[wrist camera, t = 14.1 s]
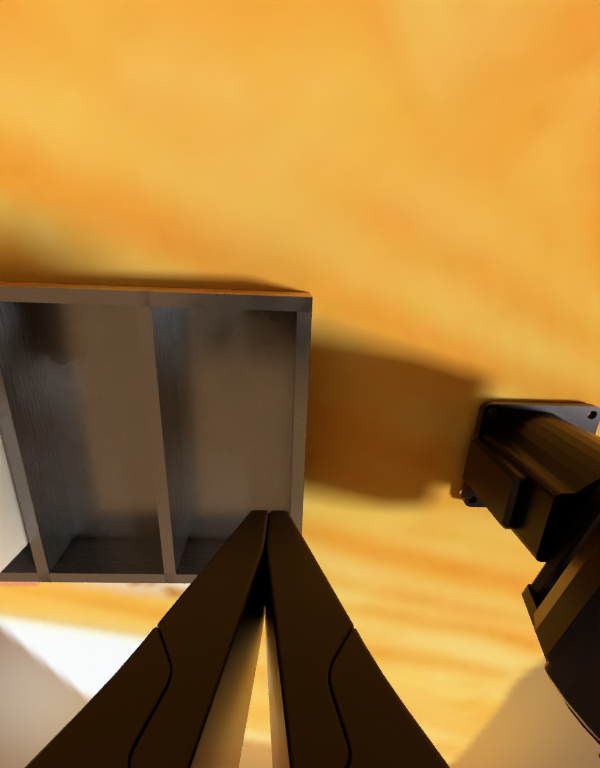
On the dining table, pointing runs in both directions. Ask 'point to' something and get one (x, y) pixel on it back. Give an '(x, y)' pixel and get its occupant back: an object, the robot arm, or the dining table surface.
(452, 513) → the dining table surface
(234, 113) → the dining table surface
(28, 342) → the divided tray
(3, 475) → the blanking panel
